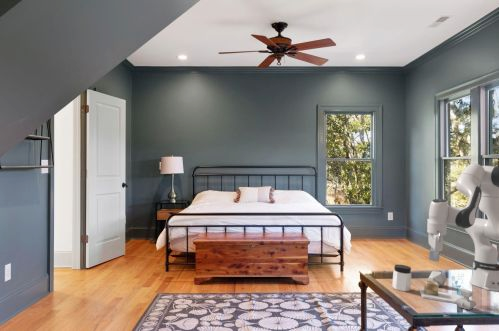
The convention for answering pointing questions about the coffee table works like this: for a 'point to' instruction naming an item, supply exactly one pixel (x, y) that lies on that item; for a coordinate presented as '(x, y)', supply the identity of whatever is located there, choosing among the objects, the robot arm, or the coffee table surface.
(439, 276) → the die
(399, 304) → the coffee table surface
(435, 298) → the board
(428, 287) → the block oak
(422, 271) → the coffee table surface
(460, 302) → the stamp
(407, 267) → the jar
